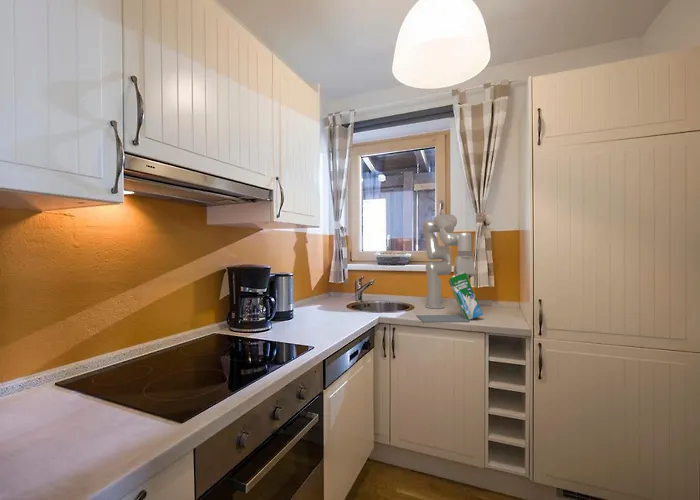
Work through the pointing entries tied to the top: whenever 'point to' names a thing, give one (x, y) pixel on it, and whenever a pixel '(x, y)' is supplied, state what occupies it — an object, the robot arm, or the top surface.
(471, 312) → the milk carton
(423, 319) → the mat
